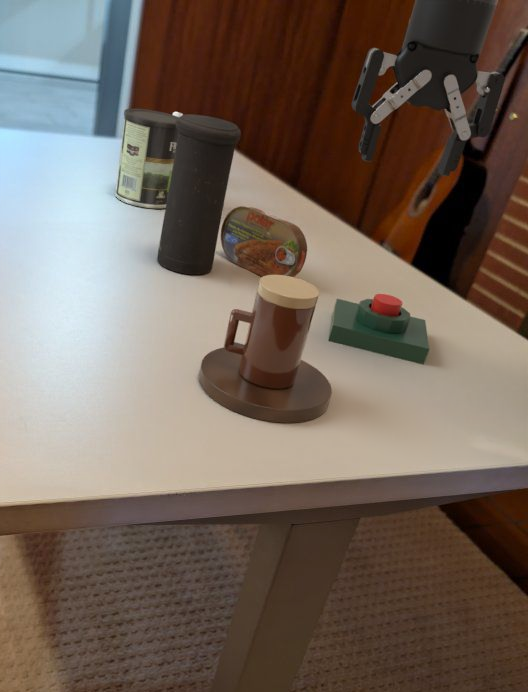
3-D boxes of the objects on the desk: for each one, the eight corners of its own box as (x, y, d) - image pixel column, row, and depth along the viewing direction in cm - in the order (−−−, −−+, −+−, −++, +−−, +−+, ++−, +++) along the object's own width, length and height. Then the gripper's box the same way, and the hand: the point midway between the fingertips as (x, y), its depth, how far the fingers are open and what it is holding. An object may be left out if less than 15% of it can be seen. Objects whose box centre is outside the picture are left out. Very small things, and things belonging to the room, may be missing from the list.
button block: (419, 334, 101) (429, 307, 99) (423, 365, 93) (434, 335, 91) (332, 313, 102) (340, 285, 100) (328, 341, 94) (336, 311, 92)
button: (397, 310, 97) (402, 298, 96) (398, 320, 94) (402, 307, 93) (370, 304, 97) (374, 291, 96) (370, 313, 94) (374, 300, 93)
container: (207, 257, 113) (234, 115, 103) (219, 279, 106) (250, 129, 95) (151, 250, 111) (172, 105, 101) (159, 272, 104) (183, 119, 93)
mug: (297, 370, 81) (321, 283, 76) (291, 394, 76) (316, 303, 71) (225, 351, 82) (244, 264, 77) (214, 374, 77) (233, 283, 72)
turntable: (331, 376, 85) (335, 365, 85) (323, 436, 74) (327, 423, 73) (212, 346, 87) (214, 334, 86) (185, 400, 75) (188, 387, 74)
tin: (214, 253, 115) (225, 198, 111) (229, 251, 117) (240, 197, 113) (287, 291, 107) (302, 232, 102) (301, 288, 109) (316, 231, 104)
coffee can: (176, 199, 138) (190, 117, 130) (165, 213, 129) (179, 126, 121) (122, 187, 138) (132, 105, 131) (107, 200, 129) (117, 112, 122)
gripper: (394, -20, 69) (345, 163, 77) (543, 10, 70) (479, 187, 78) (378, -21, 75) (335, 148, 83) (515, 6, 76) (458, 171, 85)
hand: (404, 167), depth 81 cm, fingers open, 8 cm apart
